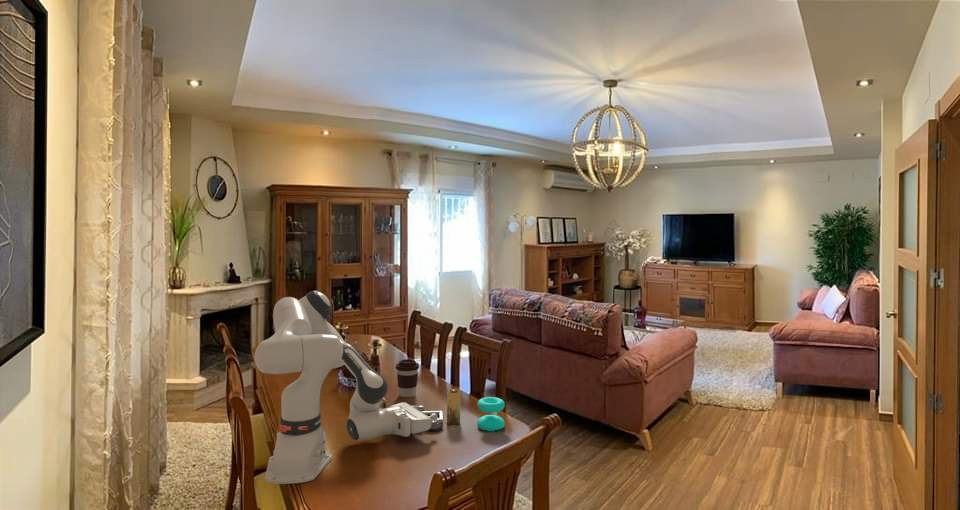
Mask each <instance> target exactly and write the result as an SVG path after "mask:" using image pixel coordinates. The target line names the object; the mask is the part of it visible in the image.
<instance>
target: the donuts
mask: <svg viewBox="0 0 960 510" xmlns="http://www.w3.org/2000/svg"><path fill="white" fill-rule="evenodd" d="M505 403H506V402H505V401H504V400H503V399H501V398H500V397H497V396H496V397H495V396H486V397H482V398H480V399H479V400H478V401H477V408H478V409H479V410H480V411H482V412H485V413H487V414H486V415H485V414H484V415H482V416H481V417H479V418H478V420H477V421H476V422H477V423H476V426H477V427H478V428H479V429H480V430H483V431H485V430H487V431H486V432H496V431H495V430H498V431H500V430H501V429H503V428H504V427H505V420H504V419H503V417H501V416H499V415H495V414H494V413H499V412H501V411H502V410H504V408H505V406H506V405H505ZM488 413H491V414H488ZM499 429H500V430H499Z"/></svg>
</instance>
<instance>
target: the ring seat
mask: <svg viewBox="0 0 960 510" xmlns="http://www.w3.org/2000/svg"><path fill="white" fill-rule="evenodd" d="M422 413H423V414H425V415H427V416H428V415H431V414H434V413H435V414H437V416H439V418H438V417H437V419H439V420H441V421H443V420H444V419H443V410H428V411H427V410H424V411H422ZM443 422H444V421H443Z"/></svg>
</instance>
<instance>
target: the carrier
mask: <svg viewBox="0 0 960 510" xmlns="http://www.w3.org/2000/svg"><path fill="white" fill-rule="evenodd" d="M442 428H444V421H441V420H439V419H436V420H433V421H432V422H431V428H430V429H429V430H426V431H425V432H432V433H433V432H435V431H436V432H439V431H441V429H442ZM442 430H443V429H442Z"/></svg>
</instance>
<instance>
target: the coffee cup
mask: <svg viewBox="0 0 960 510" xmlns="http://www.w3.org/2000/svg"><path fill="white" fill-rule="evenodd" d="M419 369H420V364H419V363H418V362H416V360H415V359H409V358H407V359H401V360H400V361H399V362H398V363H397V364H395V370H397V372H396V377H397V378H396V379H397V387H398V396H401V398H404V397H406V398H407V397H409V398H413V397H415V396H416V394H417V387H418V376H419V375H418V374H419V372H418V370H419ZM406 398H405V399H406Z"/></svg>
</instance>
